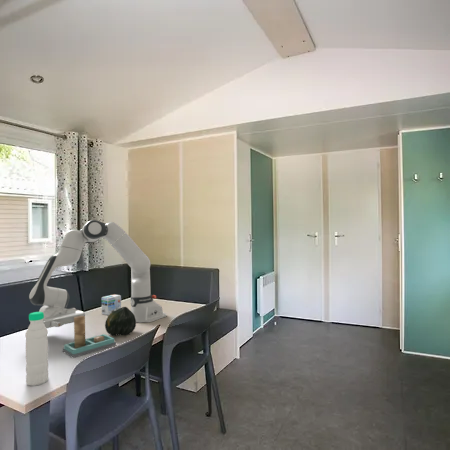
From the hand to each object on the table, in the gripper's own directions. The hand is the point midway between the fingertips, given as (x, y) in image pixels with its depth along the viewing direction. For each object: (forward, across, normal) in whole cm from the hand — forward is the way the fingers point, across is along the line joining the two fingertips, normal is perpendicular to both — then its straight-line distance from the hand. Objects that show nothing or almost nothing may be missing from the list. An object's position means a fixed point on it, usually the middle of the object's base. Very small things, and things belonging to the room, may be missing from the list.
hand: (69, 322), depth 158 cm
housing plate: (+11, +4, +11) cm, 16 cm away
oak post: (+11, 0, +9) cm, 15 cm away
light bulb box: (-39, +43, +11) cm, 59 cm away
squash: (+4, +24, +11) cm, 27 cm away
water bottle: (+29, -24, +11) cm, 39 cm away
